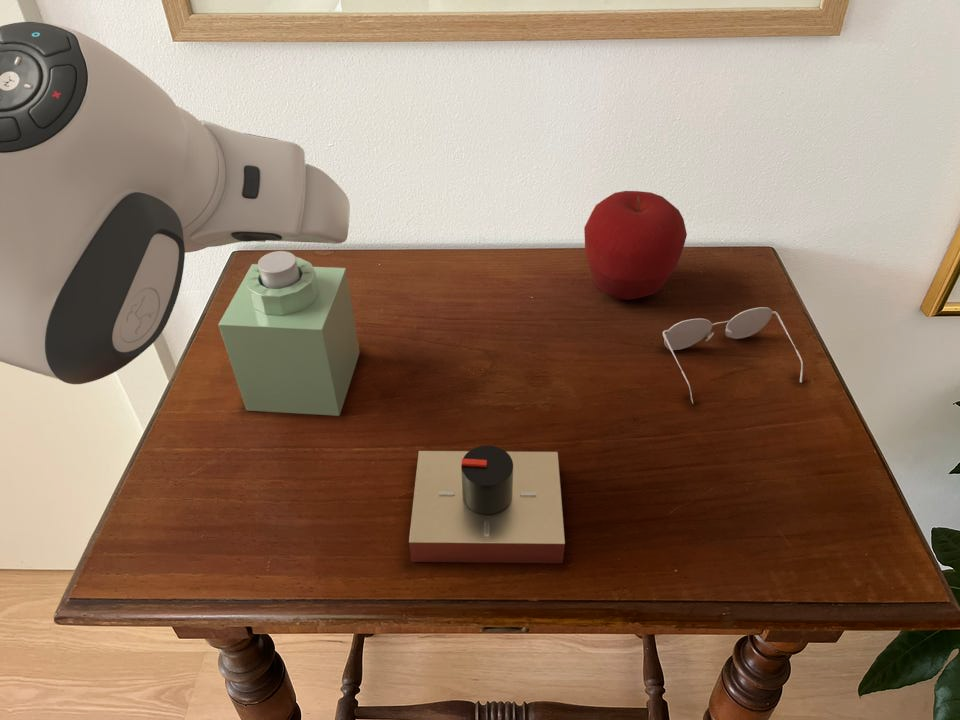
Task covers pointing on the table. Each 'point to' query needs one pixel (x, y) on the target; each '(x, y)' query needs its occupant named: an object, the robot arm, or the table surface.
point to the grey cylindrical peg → (278, 270)
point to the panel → (487, 537)
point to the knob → (487, 479)
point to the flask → (293, 341)
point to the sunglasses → (736, 328)
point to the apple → (633, 243)
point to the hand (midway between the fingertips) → (251, 232)
